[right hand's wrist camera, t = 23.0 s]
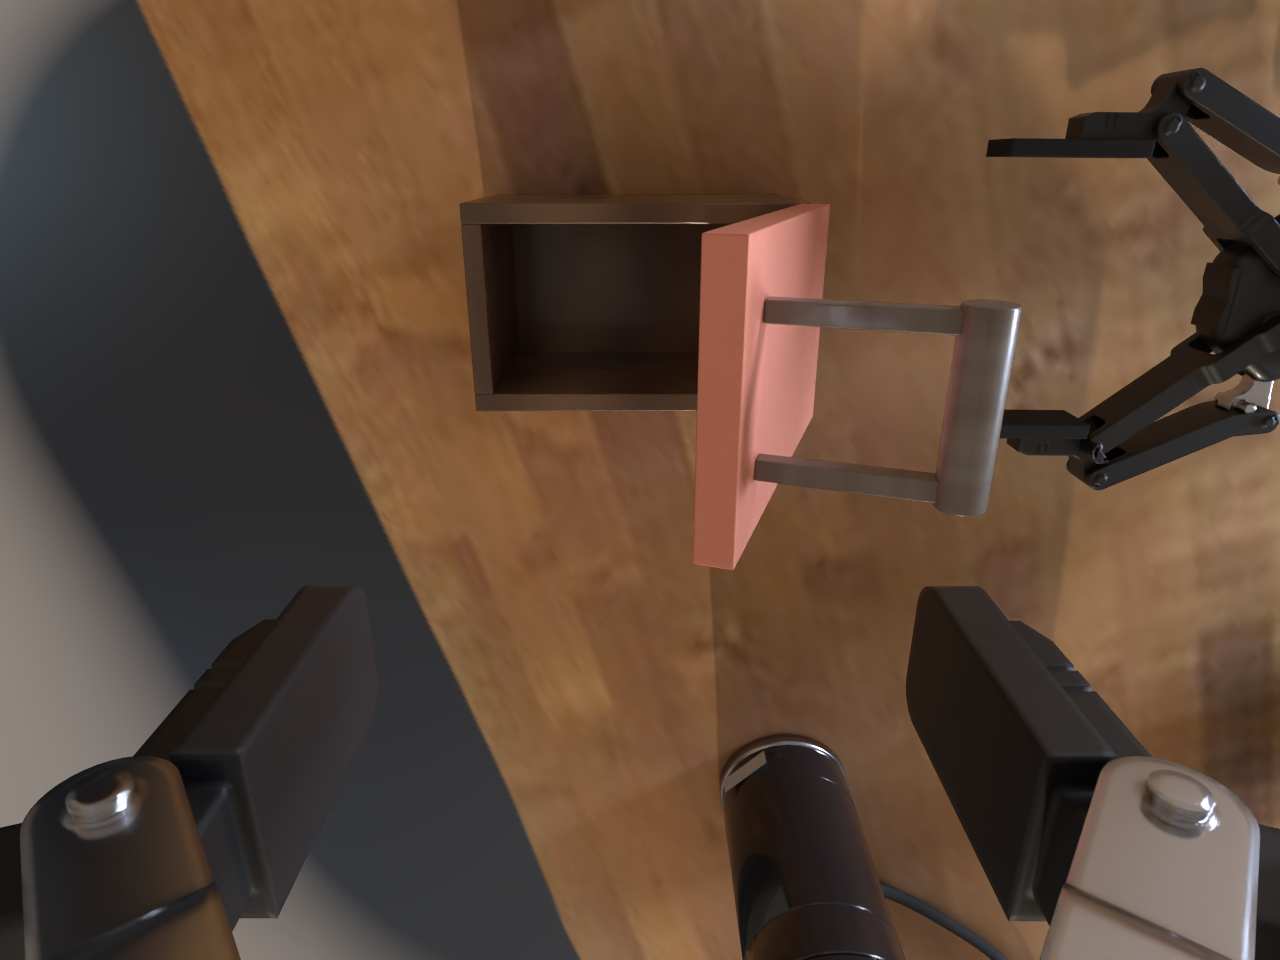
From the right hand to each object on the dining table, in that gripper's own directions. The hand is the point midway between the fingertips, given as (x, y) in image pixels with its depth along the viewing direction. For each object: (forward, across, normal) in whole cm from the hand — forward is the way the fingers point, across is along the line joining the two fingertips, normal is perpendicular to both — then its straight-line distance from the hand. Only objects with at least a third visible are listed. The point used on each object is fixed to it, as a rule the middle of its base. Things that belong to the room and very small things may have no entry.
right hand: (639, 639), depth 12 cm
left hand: (+31, -17, 0) cm, 35 cm away
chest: (+37, 0, 0) cm, 37 cm away
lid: (+19, -4, 0) cm, 20 cm away
